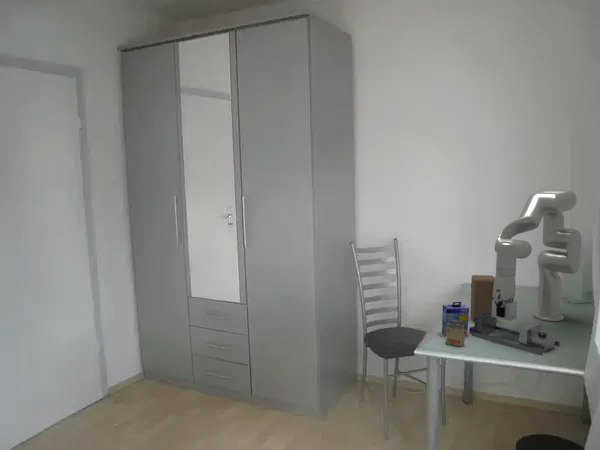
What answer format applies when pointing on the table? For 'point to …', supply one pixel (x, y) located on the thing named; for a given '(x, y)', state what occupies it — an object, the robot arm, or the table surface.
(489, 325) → the frame
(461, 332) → the lighter
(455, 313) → the ink cartridge box
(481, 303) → the block
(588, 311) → the table surface
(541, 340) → the sliding jaw
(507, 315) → the steel block
